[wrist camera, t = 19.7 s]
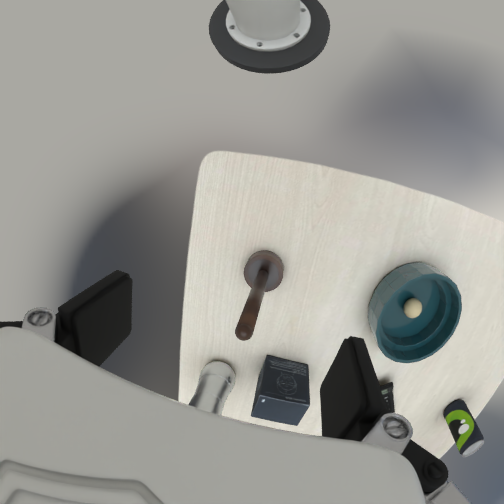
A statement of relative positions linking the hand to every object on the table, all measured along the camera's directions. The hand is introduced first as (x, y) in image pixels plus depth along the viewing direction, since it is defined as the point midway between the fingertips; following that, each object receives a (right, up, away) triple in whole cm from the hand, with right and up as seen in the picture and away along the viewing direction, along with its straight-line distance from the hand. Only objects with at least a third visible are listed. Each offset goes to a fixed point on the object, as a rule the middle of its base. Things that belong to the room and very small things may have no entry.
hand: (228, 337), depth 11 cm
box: (+7, -18, +35) cm, 40 cm away
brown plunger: (+3, +1, +31) cm, 31 cm away
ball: (+26, -5, +26) cm, 38 cm away
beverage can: (+50, -34, +33) cm, 69 cm away
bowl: (+27, -5, +29) cm, 40 cm away
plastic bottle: (-5, -19, +37) cm, 42 cm away
